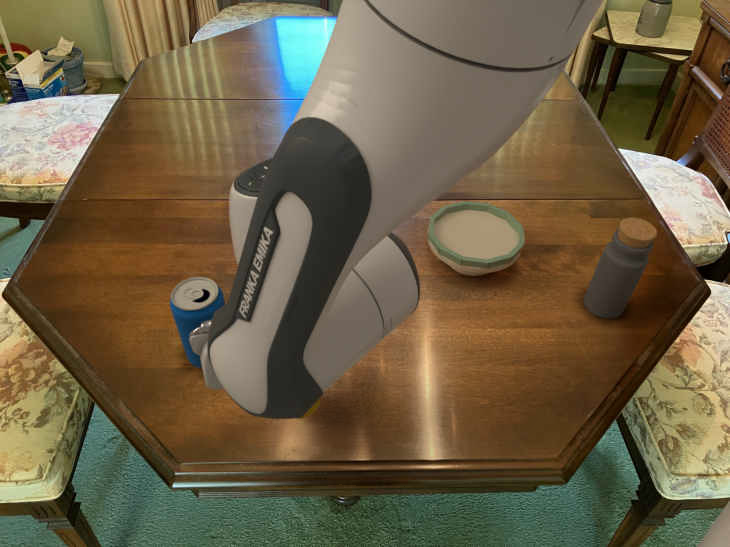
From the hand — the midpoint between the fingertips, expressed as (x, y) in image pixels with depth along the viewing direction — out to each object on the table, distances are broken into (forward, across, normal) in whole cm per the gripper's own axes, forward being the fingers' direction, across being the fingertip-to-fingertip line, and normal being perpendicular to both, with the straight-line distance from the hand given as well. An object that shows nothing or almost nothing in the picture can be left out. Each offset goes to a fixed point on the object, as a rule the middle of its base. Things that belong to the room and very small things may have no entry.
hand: (298, 380), depth 66 cm
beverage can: (+6, -9, +12) cm, 17 cm away
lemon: (+6, 0, -1) cm, 6 cm away
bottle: (+6, +48, +2) cm, 48 cm away
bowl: (+6, +34, +18) cm, 39 cm away
